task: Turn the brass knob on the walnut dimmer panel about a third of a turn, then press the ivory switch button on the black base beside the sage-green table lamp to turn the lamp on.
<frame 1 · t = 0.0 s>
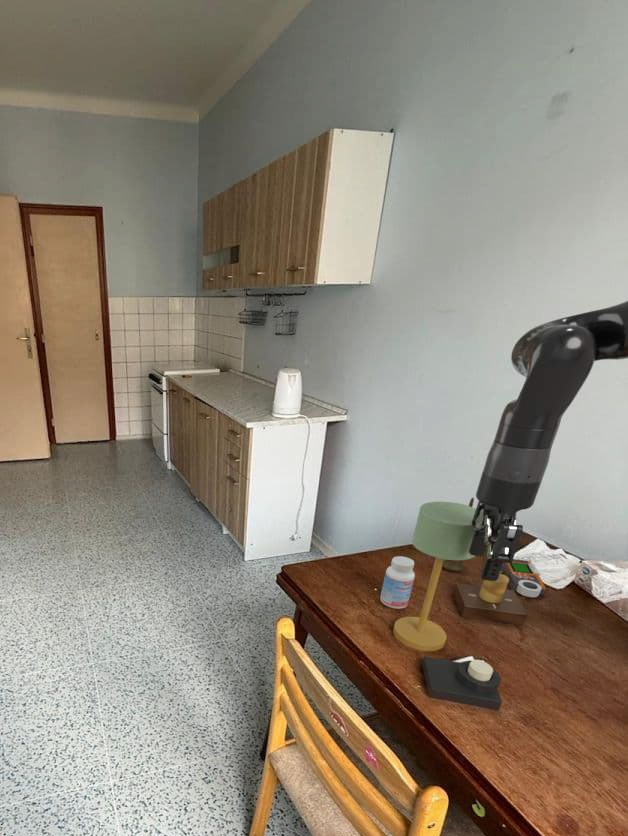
hand: (481, 566, 78), 24 cm above the table, tool pointing down, fingers open, 8 cm apart
table lamp: (418, 636, 100), on the table
switch base: (457, 686, 87), on the table
electronic device: (520, 583, 118), on the table
dimmer knob: (493, 586, 105), point 6 cm above the table, hinge at 0.0°
kendama: (451, 569, 124), on the table
pill bottle: (393, 603, 111), on the table
lamp switch: (480, 670, 84), point 5 cm above the table, slide at 0.2 cm
dimmer: (486, 608, 108), on the table
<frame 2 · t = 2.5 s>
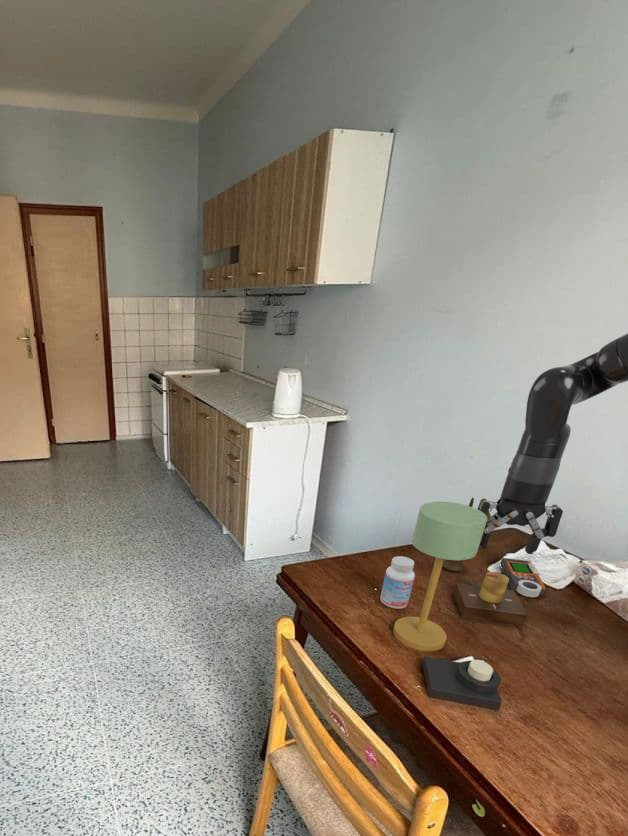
hand: (504, 549, 99), 16 cm above the table, tool pointing down, fingers open, 8 cm apart
nothing on the table moved.
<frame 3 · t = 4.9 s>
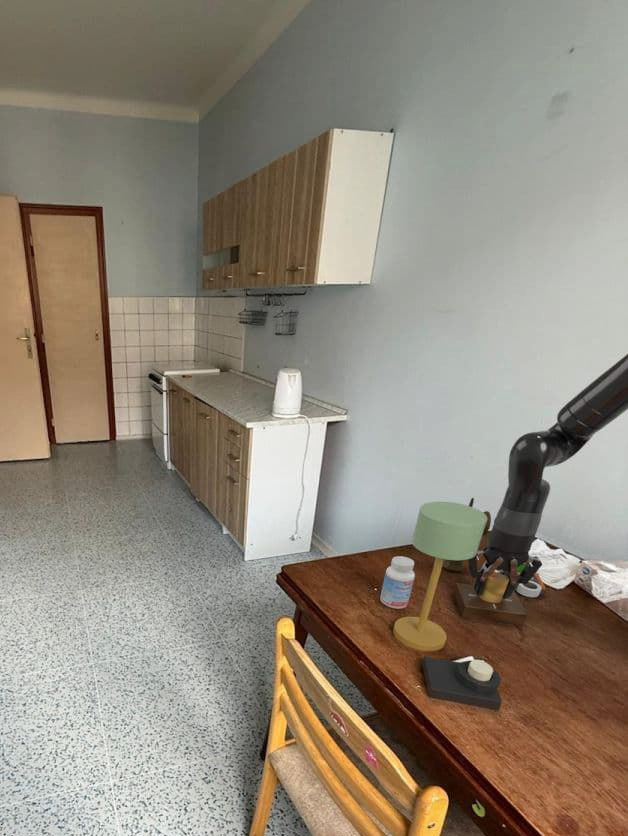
hand: (491, 594, 106), 4 cm above the table, tool pointing down, fingers closed on dimmer knob, 4 cm apart
dimmer knob: (493, 586, 105), point 6 cm above the table, hinge at 0.0°, touching gripper
everything else where it was.
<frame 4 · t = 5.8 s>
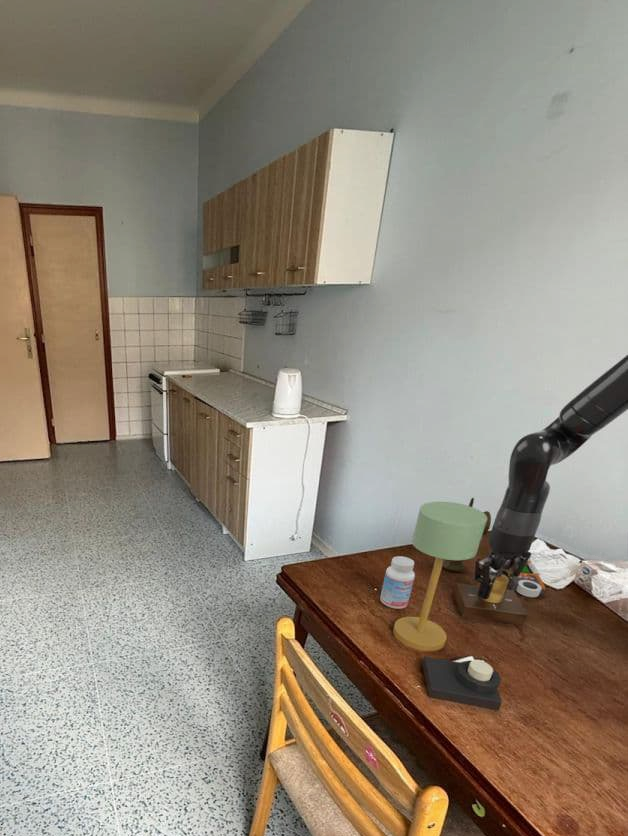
hand: (490, 594, 106), 4 cm above the table, tool pointing down, fingers closed on dimmer knob, 4 cm apart
dimmer knob: (493, 586, 105), point 6 cm above the table, hinge at 38.8°, touching gripper
everything else where it was.
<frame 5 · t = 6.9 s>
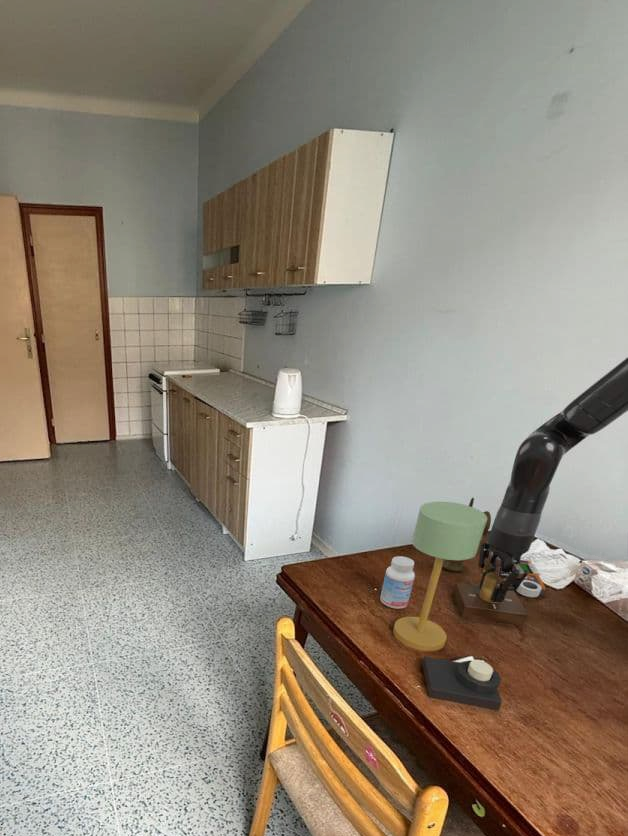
hand: (490, 594, 106), 4 cm above the table, tool pointing down, fingers closed on dimmer knob, 4 cm apart
dimmer knob: (493, 586, 105), point 6 cm above the table, hinge at 108.7°, touching gripper
everything else where it was.
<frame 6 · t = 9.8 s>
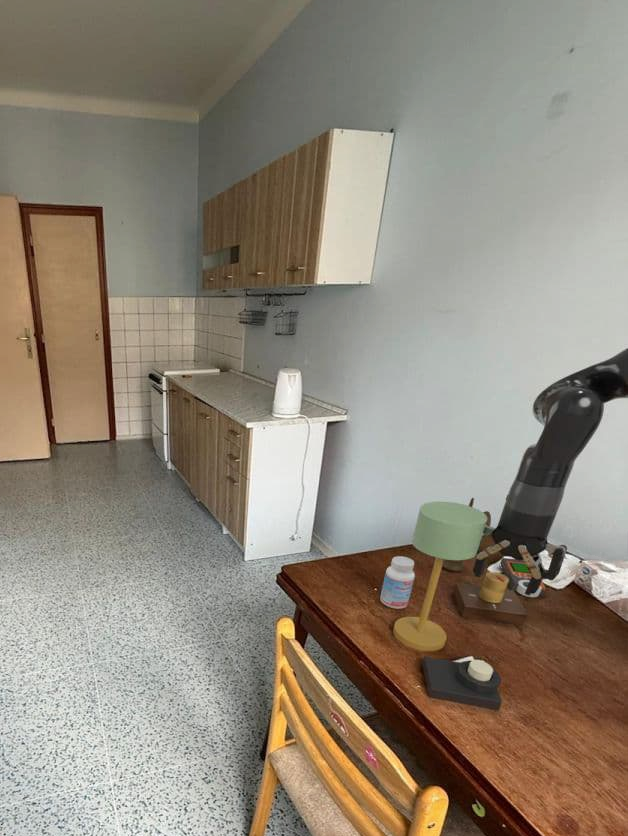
hand: (502, 584, 89), 15 cm above the table, tool pointing down, fingers open, 8 cm apart
dimmer knob: (493, 586, 105), point 6 cm above the table, hinge at 108.6°
everything else where it was.
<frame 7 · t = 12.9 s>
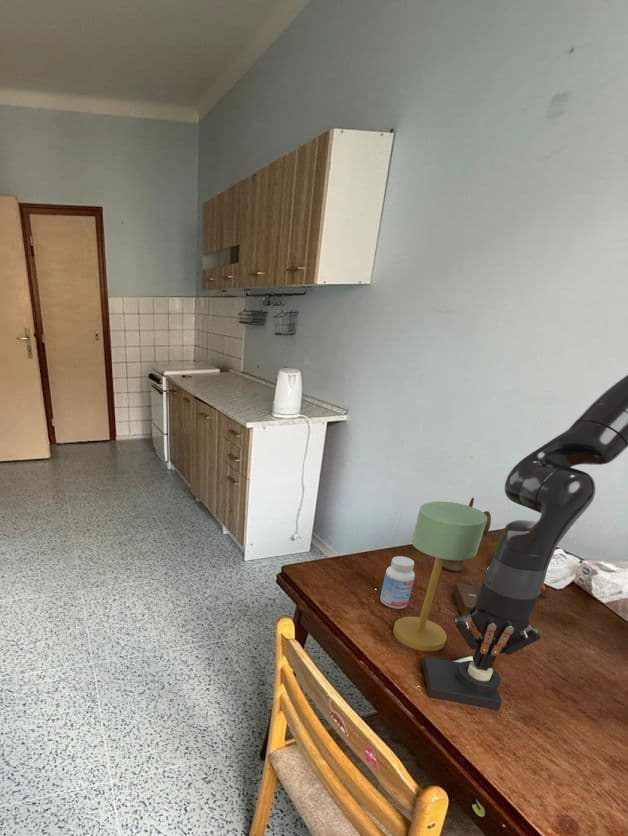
hand: (480, 666, 84), 5 cm above the table, tool pointing down, fingers closed
lamp switch: (479, 671, 84), point 4 cm above the table, slide at 0.0 cm, touching gripper
everything else where it was.
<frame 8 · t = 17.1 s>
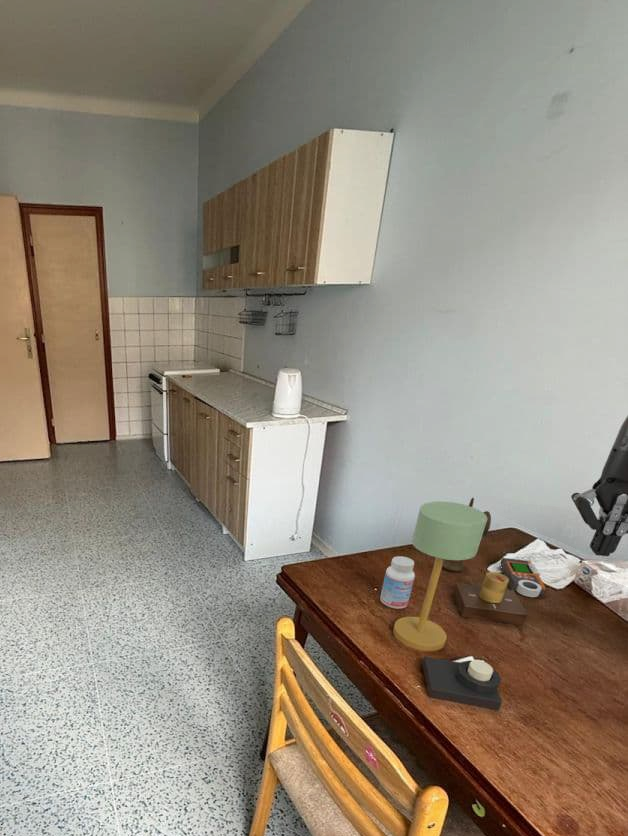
hand: (599, 553, 75), 27 cm above the table, tool pointing down, fingers closed
lamp switch: (480, 670, 84), point 5 cm above the table, slide at 0.1 cm
everything else where it was.
at the end: dimmer knob at +109° (first picture: +0°); lamp switch pushed in 1.1 cm at the most during the clip, back to where it started at the end; lamp switch slide at 0.1 cm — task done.
